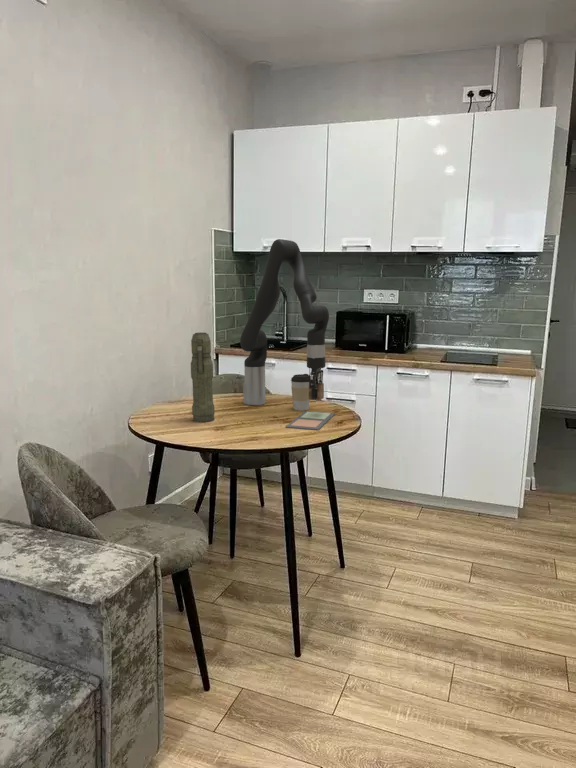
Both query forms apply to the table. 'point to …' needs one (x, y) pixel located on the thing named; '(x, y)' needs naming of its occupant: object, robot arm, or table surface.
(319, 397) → the walnut block
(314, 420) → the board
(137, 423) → the table surface
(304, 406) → the coffee cup
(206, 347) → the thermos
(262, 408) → the table surface
